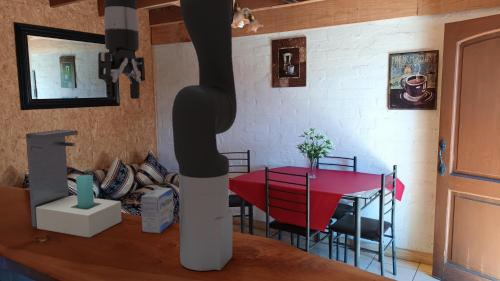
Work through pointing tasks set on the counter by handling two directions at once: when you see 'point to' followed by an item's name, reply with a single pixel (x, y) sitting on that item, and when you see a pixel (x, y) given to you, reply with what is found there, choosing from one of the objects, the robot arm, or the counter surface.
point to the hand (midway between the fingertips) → (124, 98)
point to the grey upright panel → (47, 167)
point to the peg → (85, 192)
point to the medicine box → (157, 210)
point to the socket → (78, 216)
